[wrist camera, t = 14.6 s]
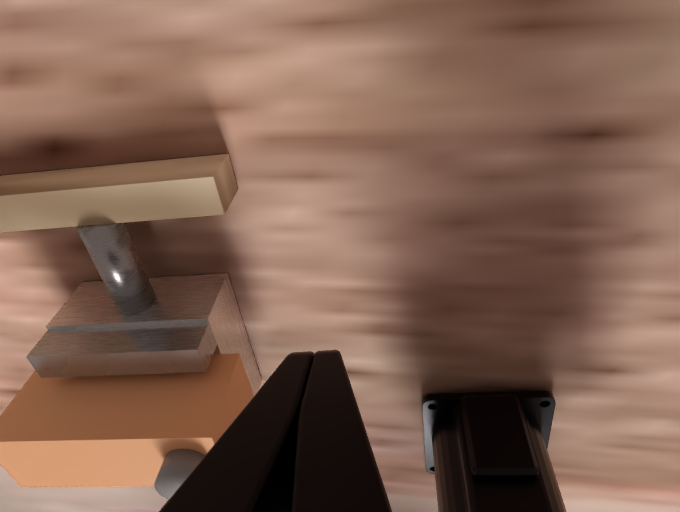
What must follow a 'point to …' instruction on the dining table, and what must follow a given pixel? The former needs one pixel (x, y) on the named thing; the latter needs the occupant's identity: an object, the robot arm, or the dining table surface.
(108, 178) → the bay
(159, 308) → the block
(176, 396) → the crank handle
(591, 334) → the dining table surface
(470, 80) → the dining table surface
